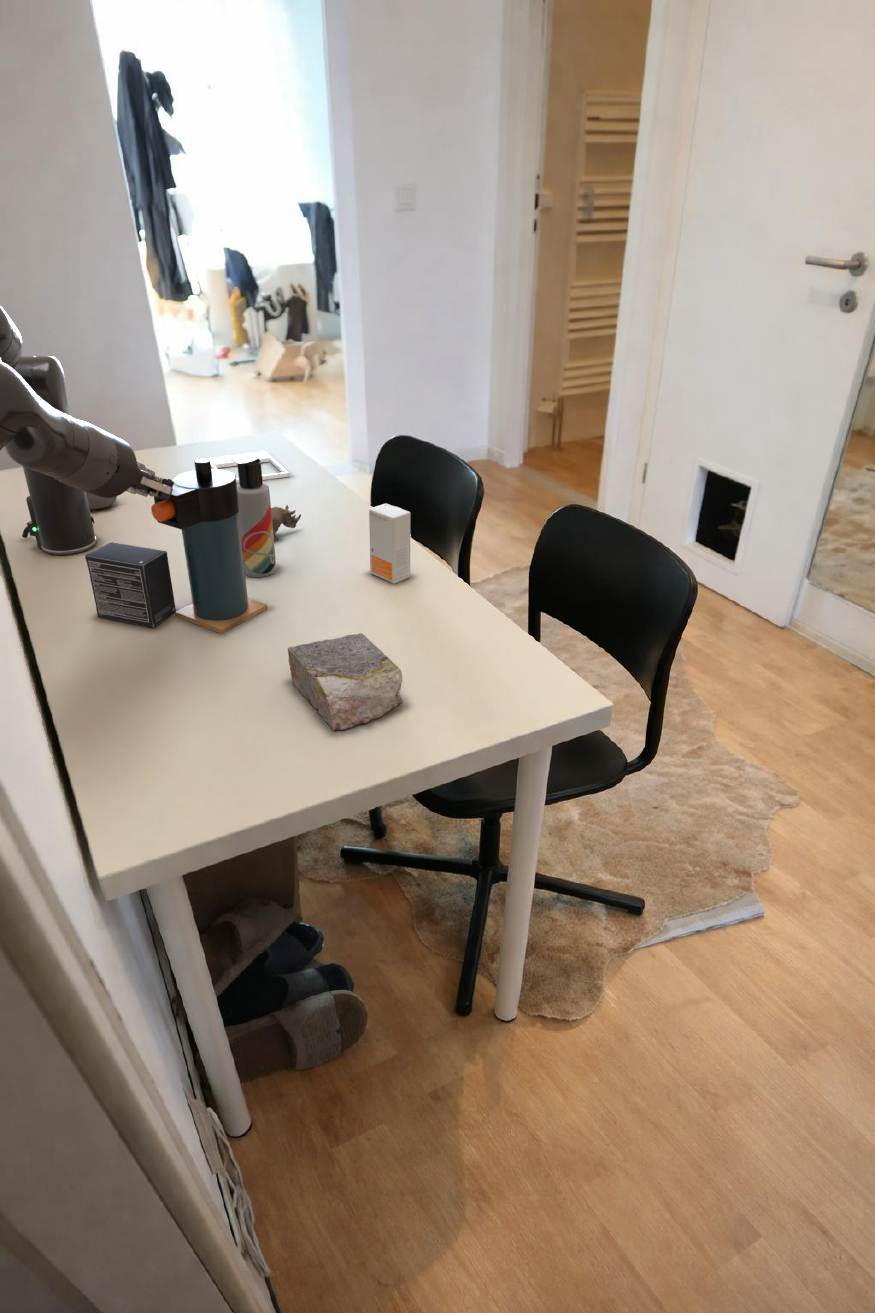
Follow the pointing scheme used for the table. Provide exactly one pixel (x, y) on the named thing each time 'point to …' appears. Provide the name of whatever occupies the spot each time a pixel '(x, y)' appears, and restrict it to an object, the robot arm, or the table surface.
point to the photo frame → (233, 459)
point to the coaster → (221, 625)
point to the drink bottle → (211, 540)
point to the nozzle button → (163, 510)
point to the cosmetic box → (389, 542)
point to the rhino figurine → (283, 519)
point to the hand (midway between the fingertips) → (166, 492)
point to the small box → (131, 584)
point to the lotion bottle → (255, 519)
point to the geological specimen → (346, 679)
